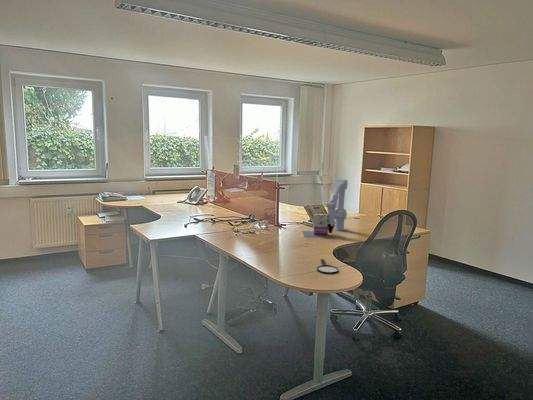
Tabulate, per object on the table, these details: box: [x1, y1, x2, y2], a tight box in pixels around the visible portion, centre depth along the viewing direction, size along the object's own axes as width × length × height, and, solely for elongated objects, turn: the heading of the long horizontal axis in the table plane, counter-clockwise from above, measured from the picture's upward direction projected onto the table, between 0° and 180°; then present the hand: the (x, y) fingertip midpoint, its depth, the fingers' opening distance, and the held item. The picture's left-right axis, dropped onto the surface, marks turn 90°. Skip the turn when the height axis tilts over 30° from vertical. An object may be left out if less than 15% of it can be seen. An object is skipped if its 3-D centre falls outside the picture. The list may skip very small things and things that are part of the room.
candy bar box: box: [312, 213, 329, 236], centre depth 332 cm, size 11×5×16 cm, turn 92°
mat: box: [302, 230, 329, 239], centre depth 334 cm, size 20×19×1 cm
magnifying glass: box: [316, 258, 339, 275], centre depth 248 cm, size 12×24×2 cm, turn 2°
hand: (330, 232), depth 333 cm, fingers closed
